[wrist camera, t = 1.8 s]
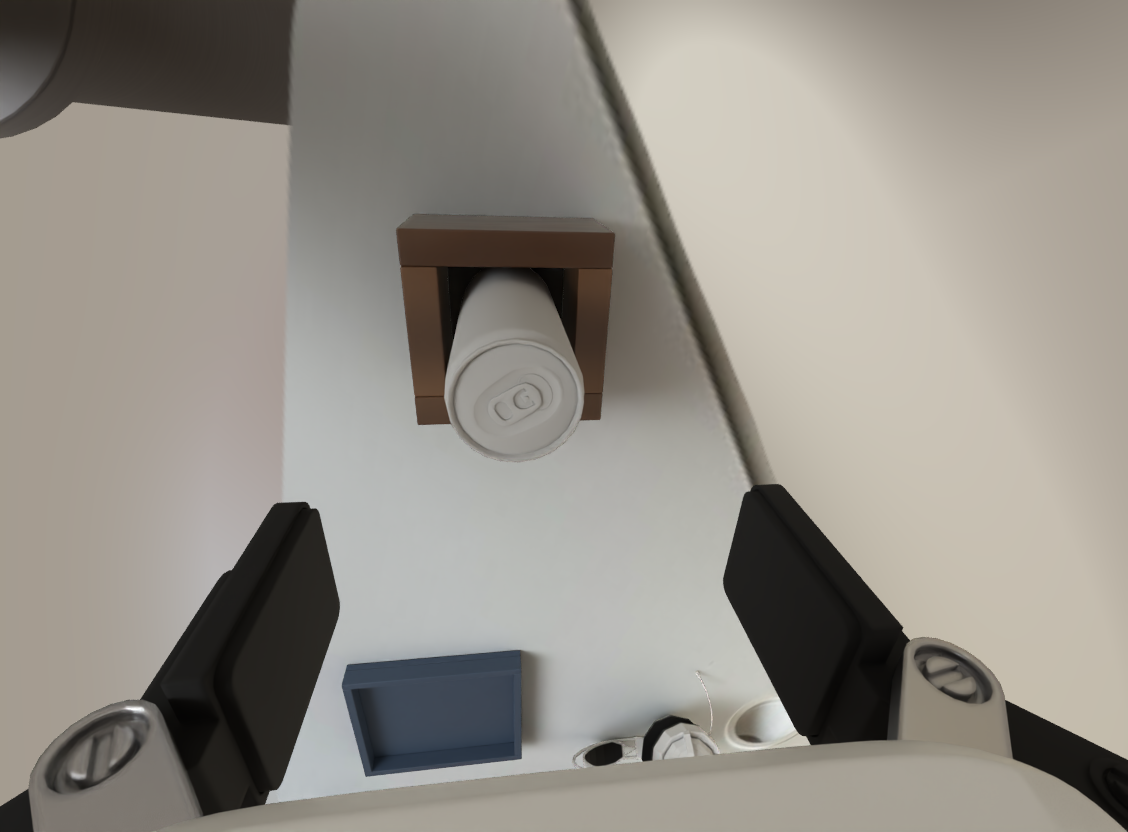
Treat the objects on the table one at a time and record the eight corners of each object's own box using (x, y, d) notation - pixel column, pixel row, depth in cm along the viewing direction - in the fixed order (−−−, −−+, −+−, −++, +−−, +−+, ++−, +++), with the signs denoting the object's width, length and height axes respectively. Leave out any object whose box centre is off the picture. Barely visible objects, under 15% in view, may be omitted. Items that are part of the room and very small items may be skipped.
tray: (347, 664, 39) (341, 685, 37) (520, 650, 40) (521, 669, 39) (369, 755, 44) (365, 776, 43) (520, 739, 46) (521, 759, 44)
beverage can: (567, 319, 28) (612, 423, 18) (493, 362, 29) (494, 487, 18) (522, 241, 26) (543, 306, 15) (443, 289, 26) (411, 384, 16)
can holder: (412, 213, 25) (395, 228, 20) (594, 218, 26) (615, 232, 21) (428, 383, 29) (417, 425, 24) (584, 380, 30) (600, 420, 26)
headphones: (772, 728, 50) (569, 752, 48) (789, 659, 45) (566, 683, 44) (817, 826, 42) (579, 857, 41) (843, 755, 38) (577, 787, 36)
